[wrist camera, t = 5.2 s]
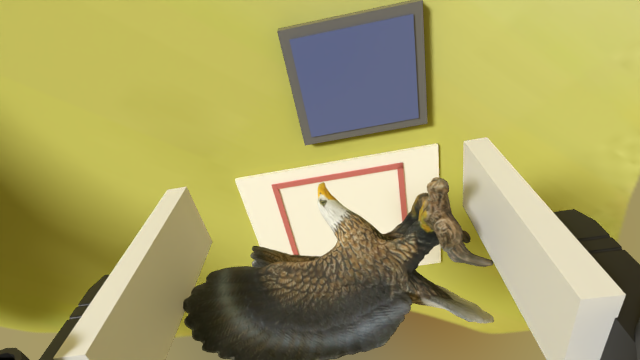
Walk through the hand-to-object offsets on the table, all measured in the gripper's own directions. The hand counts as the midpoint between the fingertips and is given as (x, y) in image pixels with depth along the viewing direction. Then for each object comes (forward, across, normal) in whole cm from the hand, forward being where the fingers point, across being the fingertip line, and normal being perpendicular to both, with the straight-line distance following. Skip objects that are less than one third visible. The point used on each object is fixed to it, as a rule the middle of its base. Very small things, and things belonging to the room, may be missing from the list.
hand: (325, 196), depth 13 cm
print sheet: (+17, -1, -15) cm, 22 cm away
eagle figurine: (+1, 0, -2) cm, 3 cm away
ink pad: (+17, +2, -1) cm, 17 cm away
